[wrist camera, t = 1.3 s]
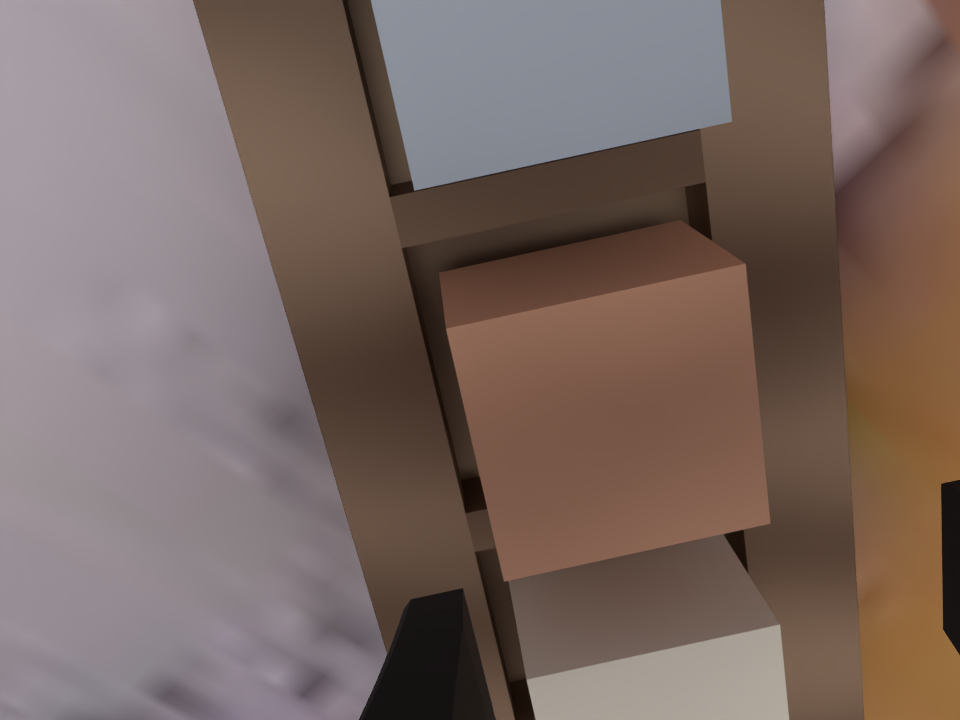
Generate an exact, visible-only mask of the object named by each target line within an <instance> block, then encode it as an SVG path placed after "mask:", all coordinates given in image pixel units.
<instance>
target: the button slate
mask: <svg viewBox="0 0 960 720" xmlns="http://www.w3.org/2000/svg"><path fill="white" fill-rule="evenodd" d="M371 3H372V8H373V12H374V17H375V21H376V25H377V30H378V34H379V38H380V43H381V47H382V51H383V56H384V60H385V65H386V69H387V73H388V78H389V82H390V86H391V91H392V95H393V99H394V104H395V108H396V113H397V117H398V121H399V126H400V130H401V134H402V139H403V143H404V147H405V152H406V156H407V161H408V165H409V169H410V174H411V178H412V182H413V187H414V191H415V190H420V189H425V188H429V187H434V186H438V185H443V184H448V183H452V182H457V181H461V180H466V179H471V178H475V177H480V176H484V175H489V174H494V173H498V172H503V171H507V170H512V169H517V168H521V167H526V166H530V165H535V164H540V163H544V162H549V161H553V160H558V159H563V158H567V157H572V156H576V155H581V154H586V153H590V152H595V151H599V150H604V149H609V148H613V147H618V146H622V145H627V144H632V143H636V142H641V141H645V140H650V139H655V138H659V137H664V136H668V135H673V134H678V133H682V132H687V131H691V130H696V129H701V128H705V127H710V126H714V125H719V124H724V123H728V122H732V115H731V105H730V94H729V84H728V73H727V63H726V52H725V42H724V31H723V21H722V11H721V0H371Z"/></svg>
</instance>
